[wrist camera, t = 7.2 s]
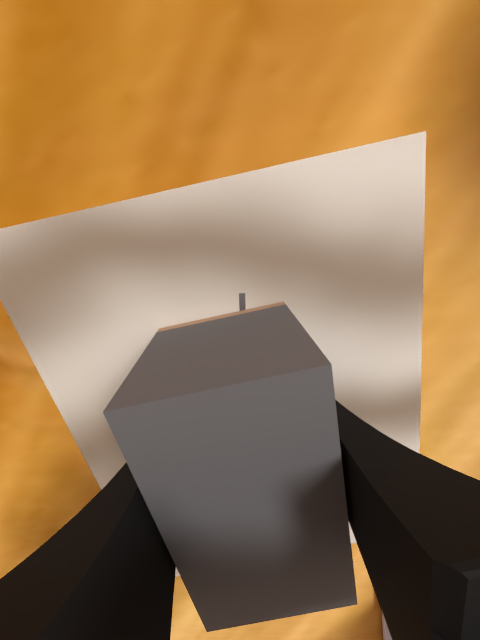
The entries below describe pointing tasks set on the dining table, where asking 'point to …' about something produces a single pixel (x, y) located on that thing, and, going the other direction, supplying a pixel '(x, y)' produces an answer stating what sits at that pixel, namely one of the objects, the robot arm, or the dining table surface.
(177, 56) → the dining table surface
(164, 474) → the block
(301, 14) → the dining table surface
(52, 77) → the dining table surface
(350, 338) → the board
